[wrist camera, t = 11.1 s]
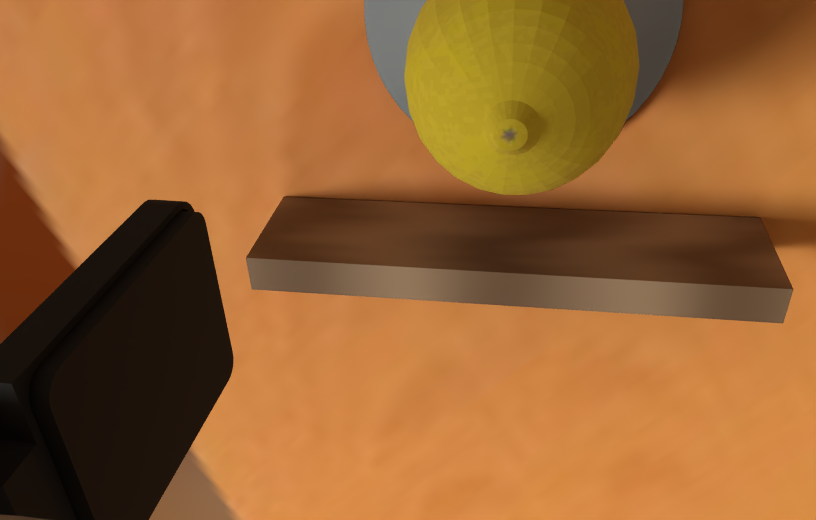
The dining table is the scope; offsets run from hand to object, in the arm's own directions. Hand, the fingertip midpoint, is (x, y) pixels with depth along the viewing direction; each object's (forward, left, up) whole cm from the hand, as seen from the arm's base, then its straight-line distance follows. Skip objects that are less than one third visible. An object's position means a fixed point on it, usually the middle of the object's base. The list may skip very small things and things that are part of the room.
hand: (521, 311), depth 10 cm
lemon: (0, 0, -14) cm, 14 cm away
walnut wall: (+1, +7, -14) cm, 15 cm away
